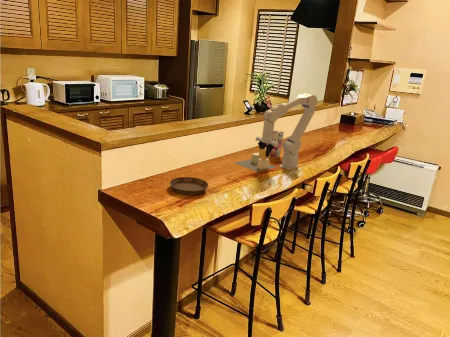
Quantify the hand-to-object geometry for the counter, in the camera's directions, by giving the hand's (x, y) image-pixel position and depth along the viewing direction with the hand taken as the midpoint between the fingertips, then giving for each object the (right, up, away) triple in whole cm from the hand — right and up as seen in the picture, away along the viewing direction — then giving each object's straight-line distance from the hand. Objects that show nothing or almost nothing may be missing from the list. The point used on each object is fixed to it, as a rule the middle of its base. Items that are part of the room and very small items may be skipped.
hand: (264, 155), depth 209 cm
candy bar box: (+8, +2, +32) cm, 33 cm away
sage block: (-4, -3, +12) cm, 13 cm away
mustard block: (0, -1, 0) cm, 1 cm away
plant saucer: (-39, -17, -39) cm, 58 cm away
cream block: (-1, -7, +2) cm, 7 cm away
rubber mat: (-5, -5, +6) cm, 9 cm away
